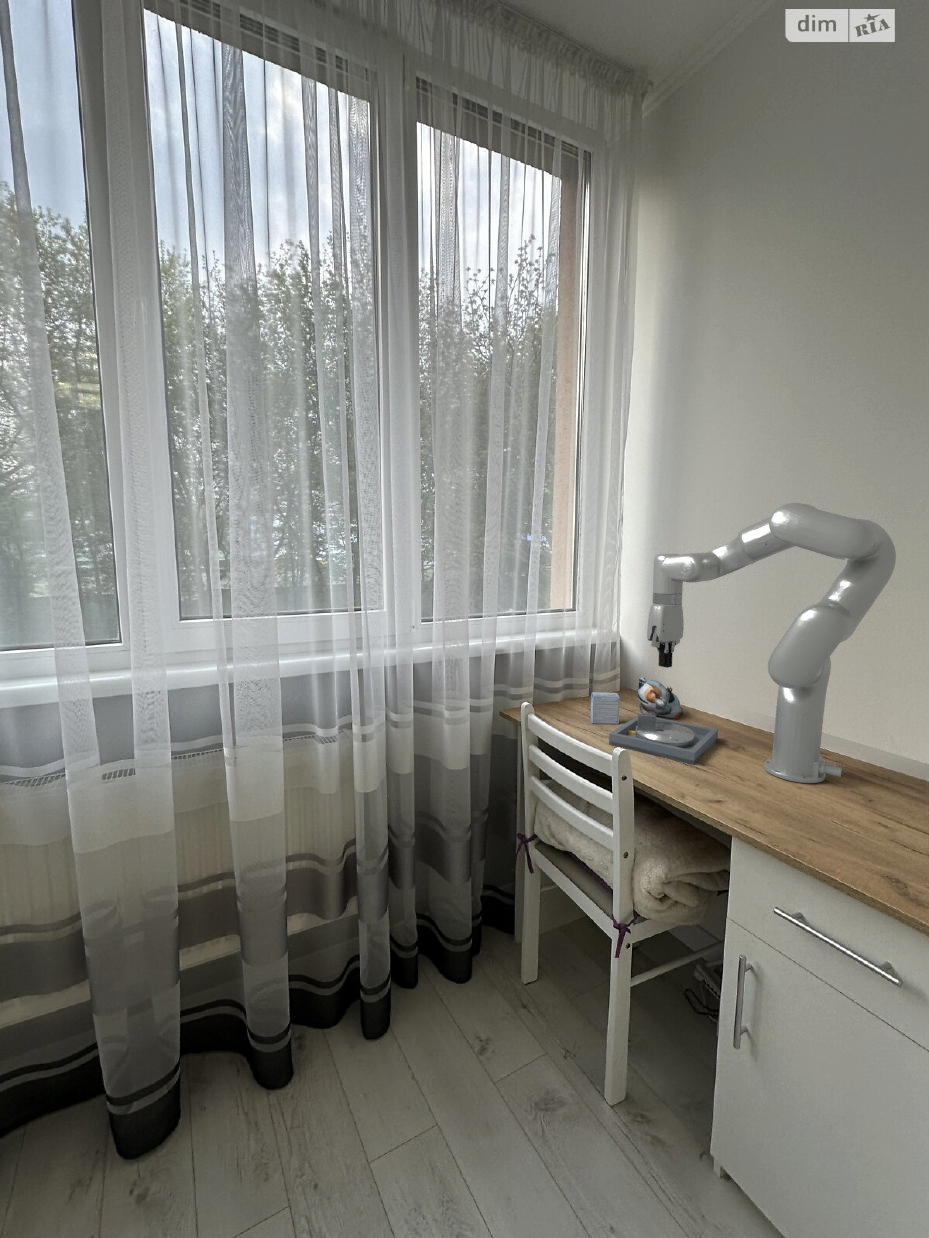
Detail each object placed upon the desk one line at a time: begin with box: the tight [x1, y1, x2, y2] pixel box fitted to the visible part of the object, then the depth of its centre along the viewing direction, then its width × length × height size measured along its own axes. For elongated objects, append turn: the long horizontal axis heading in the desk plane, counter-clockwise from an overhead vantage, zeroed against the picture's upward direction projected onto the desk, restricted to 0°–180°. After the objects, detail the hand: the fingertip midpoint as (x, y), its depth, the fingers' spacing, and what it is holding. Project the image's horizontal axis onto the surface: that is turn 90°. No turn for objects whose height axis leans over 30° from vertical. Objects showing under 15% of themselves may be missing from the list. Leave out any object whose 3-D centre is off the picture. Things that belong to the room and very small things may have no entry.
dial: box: [635, 713, 694, 748], centre depth 152 cm, size 15×15×6 cm
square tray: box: [608, 715, 719, 766], centre depth 153 cm, size 22×22×3 cm
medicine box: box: [590, 691, 621, 725], centre depth 169 cm, size 8×4×9 cm, turn 84°
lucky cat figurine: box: [637, 676, 686, 720], centre depth 176 cm, size 15×12×14 cm
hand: (665, 666), depth 154 cm, fingers closed
